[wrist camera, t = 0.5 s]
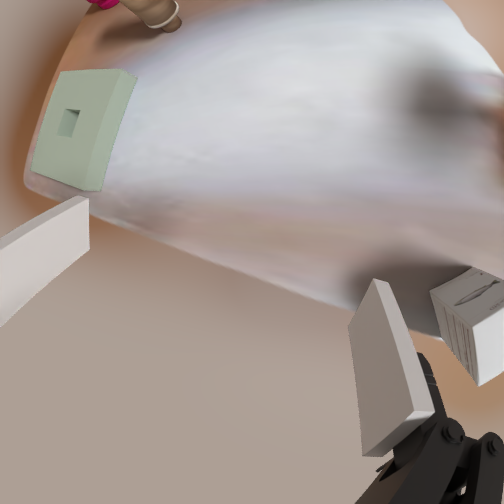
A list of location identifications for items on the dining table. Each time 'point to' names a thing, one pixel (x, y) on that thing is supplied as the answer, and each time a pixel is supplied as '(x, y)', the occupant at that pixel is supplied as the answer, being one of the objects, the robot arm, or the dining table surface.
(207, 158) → the dining table surface
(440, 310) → the supplement box
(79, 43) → the dining table surface
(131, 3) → the walnut peg
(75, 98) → the sage board
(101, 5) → the pepper mill
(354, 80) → the dining table surface
